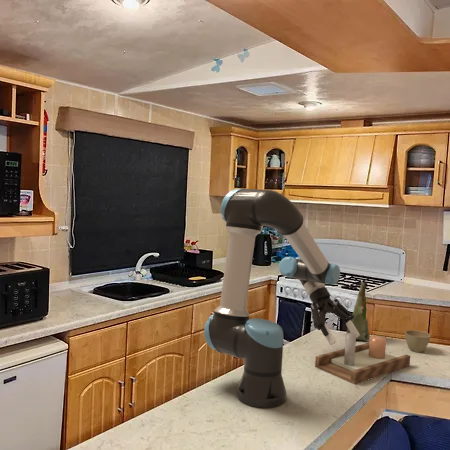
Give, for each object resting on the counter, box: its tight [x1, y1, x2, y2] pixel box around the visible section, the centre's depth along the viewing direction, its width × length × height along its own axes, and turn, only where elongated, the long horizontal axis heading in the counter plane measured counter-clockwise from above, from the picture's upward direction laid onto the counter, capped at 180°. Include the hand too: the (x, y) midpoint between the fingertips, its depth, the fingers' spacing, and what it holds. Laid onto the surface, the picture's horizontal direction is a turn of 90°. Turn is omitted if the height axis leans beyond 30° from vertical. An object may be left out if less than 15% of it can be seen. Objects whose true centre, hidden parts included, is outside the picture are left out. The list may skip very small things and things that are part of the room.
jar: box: [368, 335, 387, 359], centre depth 181 cm, size 6×6×7 cm
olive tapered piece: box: [345, 281, 370, 342], centre depth 209 cm, size 11×12×25 cm
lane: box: [314, 342, 411, 385], centre depth 177 cm, size 32×18×4 cm, turn 126°
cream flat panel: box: [331, 333, 398, 371], centre depth 178 cm, size 24×14×12 cm, turn 126°
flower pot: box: [404, 329, 431, 353], centre depth 197 cm, size 10×10×7 cm
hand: (345, 340), depth 175 cm, fingers open, 13 cm apart
